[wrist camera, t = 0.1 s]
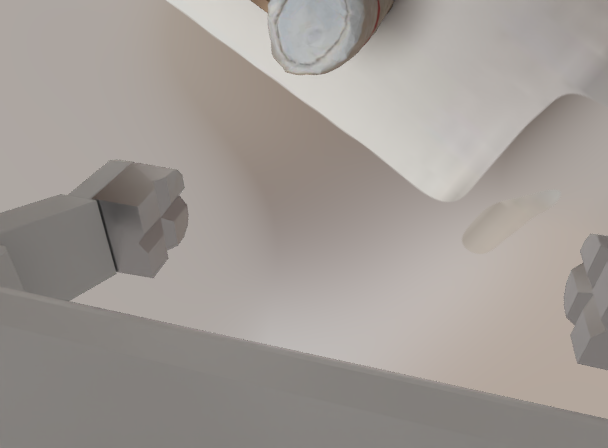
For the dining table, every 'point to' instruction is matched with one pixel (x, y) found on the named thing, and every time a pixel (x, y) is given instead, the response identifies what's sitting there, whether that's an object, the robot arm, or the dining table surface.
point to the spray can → (321, 32)
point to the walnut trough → (262, 4)
